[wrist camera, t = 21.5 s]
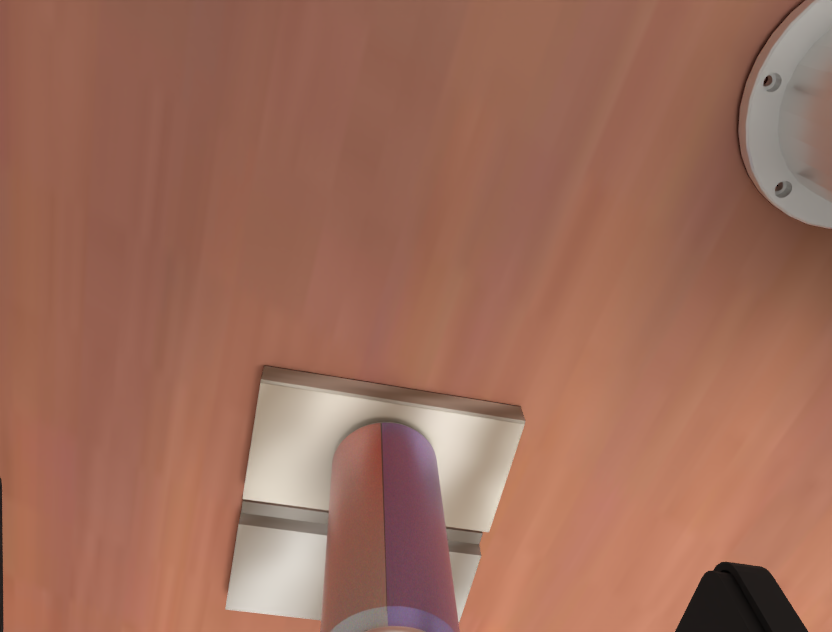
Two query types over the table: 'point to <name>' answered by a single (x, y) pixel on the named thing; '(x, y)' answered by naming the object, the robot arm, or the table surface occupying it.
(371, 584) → the beverage can
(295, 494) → the plank
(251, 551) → the floorboard
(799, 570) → the table surface
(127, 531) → the table surface
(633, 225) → the table surface
